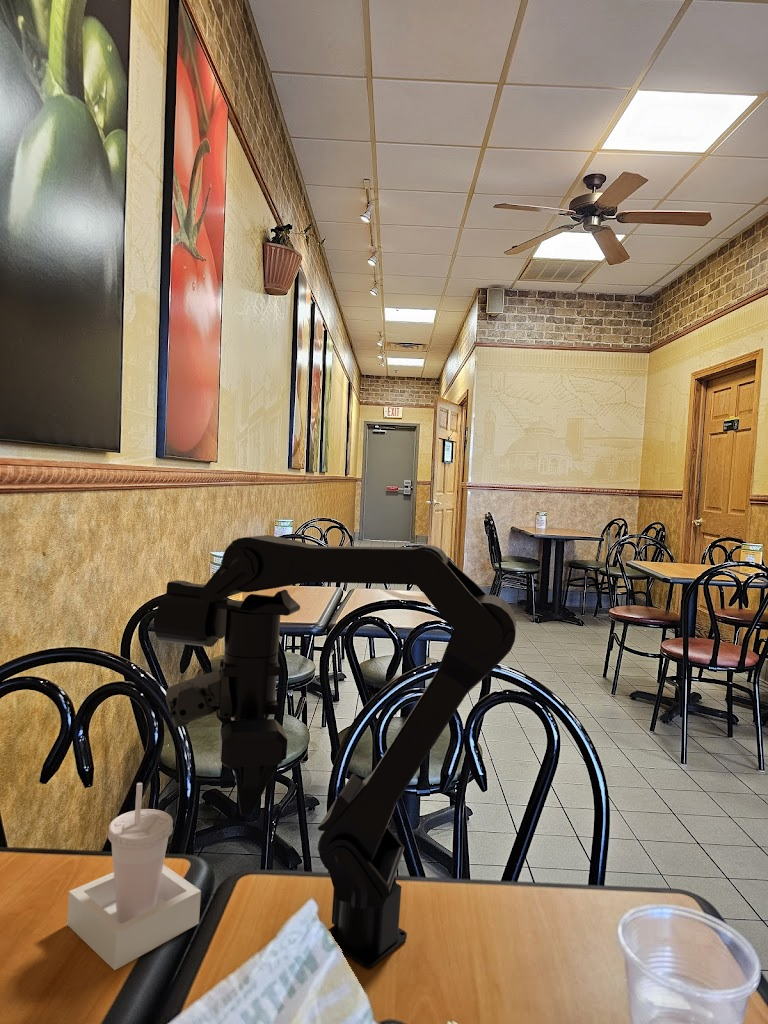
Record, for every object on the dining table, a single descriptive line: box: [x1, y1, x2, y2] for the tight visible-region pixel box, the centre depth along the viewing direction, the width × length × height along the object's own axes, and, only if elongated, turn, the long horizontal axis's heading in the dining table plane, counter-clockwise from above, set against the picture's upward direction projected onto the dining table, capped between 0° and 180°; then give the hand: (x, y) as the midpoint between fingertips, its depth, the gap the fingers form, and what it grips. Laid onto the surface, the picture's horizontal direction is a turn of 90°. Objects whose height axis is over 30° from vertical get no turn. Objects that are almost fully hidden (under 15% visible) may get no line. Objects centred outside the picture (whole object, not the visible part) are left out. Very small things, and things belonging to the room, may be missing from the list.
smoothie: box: [107, 782, 174, 924], centre depth 68 cm, size 6×6×14 cm
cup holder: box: [66, 864, 202, 971], centre depth 68 cm, size 9×9×4 cm
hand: (242, 794), depth 70 cm, fingers open, 9 cm apart
